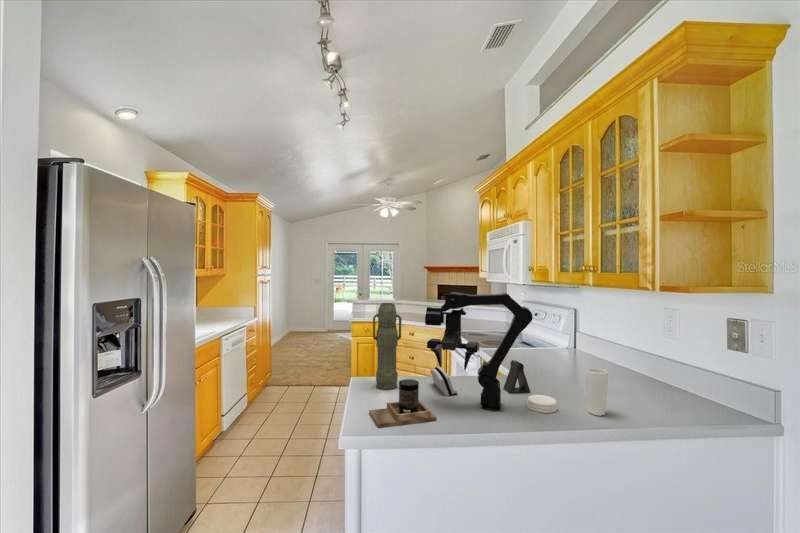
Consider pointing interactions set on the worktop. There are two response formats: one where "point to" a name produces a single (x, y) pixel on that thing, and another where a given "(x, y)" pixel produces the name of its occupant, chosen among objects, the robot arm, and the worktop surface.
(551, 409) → the coaster
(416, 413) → the board
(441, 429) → the worktop surface
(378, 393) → the worktop surface
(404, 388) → the supplement container
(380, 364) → the thermos
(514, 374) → the phone stand
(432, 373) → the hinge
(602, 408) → the drinking glass
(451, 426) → the worktop surface
